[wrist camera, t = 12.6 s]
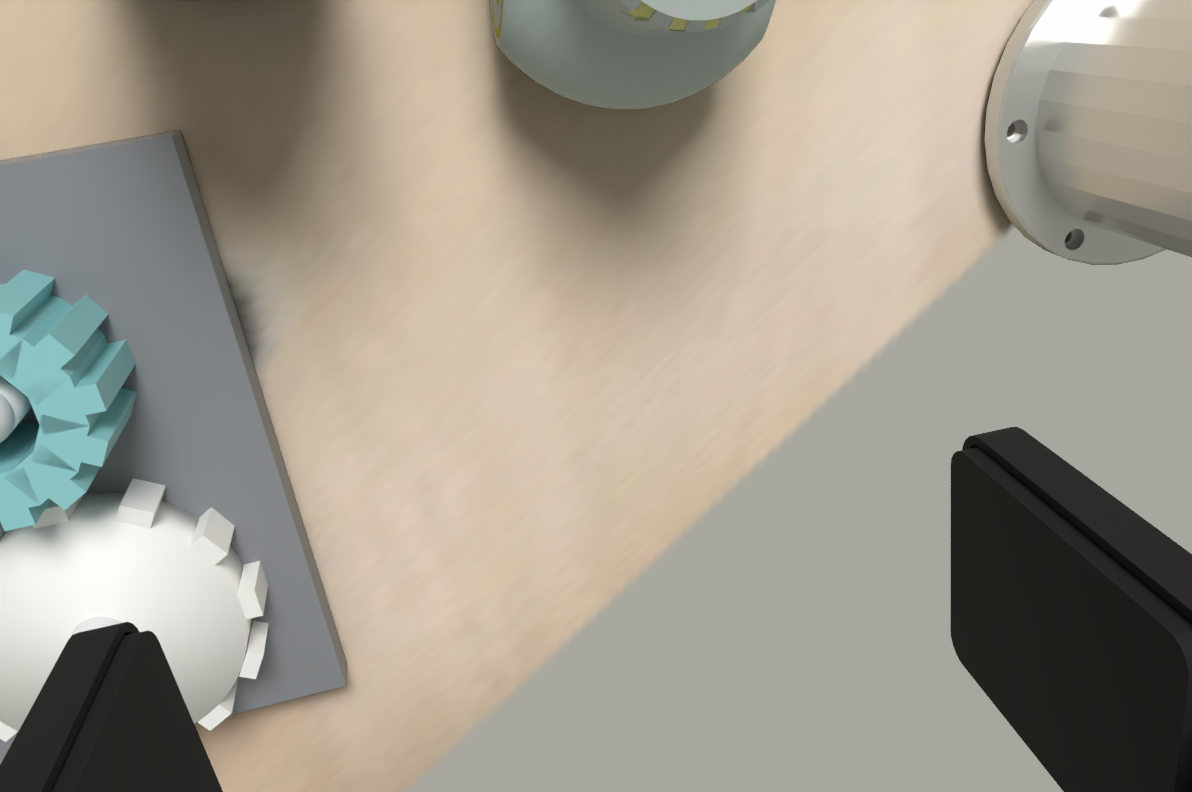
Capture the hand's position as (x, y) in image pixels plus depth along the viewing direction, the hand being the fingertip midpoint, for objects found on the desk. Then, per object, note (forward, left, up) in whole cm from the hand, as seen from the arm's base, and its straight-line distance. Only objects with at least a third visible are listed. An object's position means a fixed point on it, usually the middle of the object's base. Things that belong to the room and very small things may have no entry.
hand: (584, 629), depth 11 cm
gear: (+15, +3, -24) cm, 28 cm away
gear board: (+15, +7, -25) cm, 30 cm away
